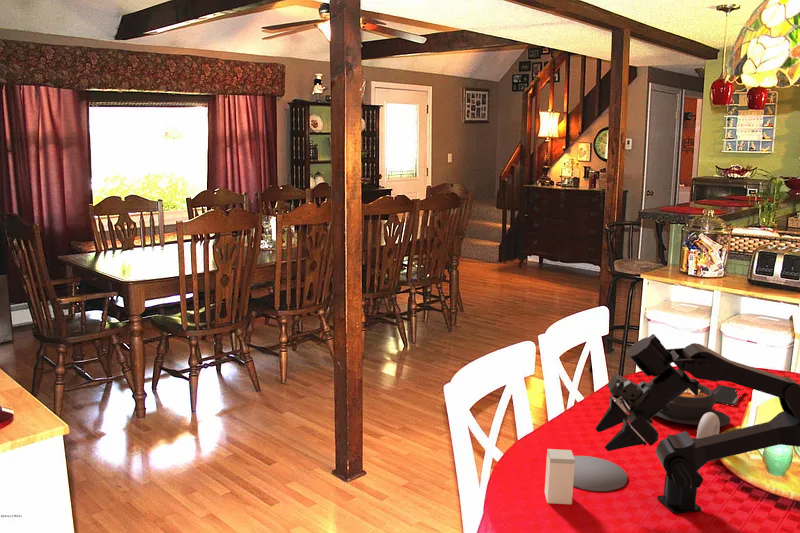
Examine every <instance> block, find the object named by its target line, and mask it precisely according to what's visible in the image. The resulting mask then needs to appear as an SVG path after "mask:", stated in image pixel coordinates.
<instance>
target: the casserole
mask: <svg viewBox="0 0 800 533" xmlns="http://www.w3.org/2000/svg"><path fill="white" fill-rule="evenodd" d="M716 402H717V400H716V398H715V397H714V393H713V390H712V389H711V388H709V387H708V386H706V385H705V384H704V385H703V384H701V383H699V386H698V395H695V394H694V393H693V392H692V391H691V390H690V389H689V388H688V389H687V390H686V391H684V392H683V393H682V394H681V395H680V396H678V397H677V398H676V399H675V400H673V401H672V402H671V403H670V404H668V405H667V407H668V408H669V410H668V411H666V412H665V411H664V410H663V409H662V410H661V411H660V412H658V413H657V414H656V415H655V416H656V417H658V418H661V419H664V420H666V421H669V422H671V423H676V424H681V425H686V426H687V425H688V426H689V425H690V426H691V425H694V426H699V422H700V420H701V418H702V416H703V415H704V414H706V413H708V412H712V413H714V414H716V415H717V416H718V418H719V422H720V428H721V427H725V426H727V425H729V424H730V423H731V421H732V419H731V418H730V416H729V415H727V414H726V413H724V412H722V411H719V410H716V409H714V408H713V407H714V405H715V404H717V403H716Z"/></svg>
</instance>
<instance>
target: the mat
mask: <svg viewBox="0 0 800 533" xmlns="http://www.w3.org/2000/svg"><path fill="white" fill-rule="evenodd" d="M573 456H574V458H575V467H574V480H573V488H576V489H581V490H583V491H591V492H611V491H615V490H619V489H621V488H623V487H624V486H625V485H626V484H627V481H628V474H627V472H626V470H624V469H623V468H622V467H621V466H619V465H618V464H616V463H614V462H612V461H610V460H607V459H604V458H600V457H595V456H589V455H573Z"/></svg>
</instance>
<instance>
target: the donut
mask: <svg viewBox="0 0 800 533" xmlns="http://www.w3.org/2000/svg"><path fill="white" fill-rule="evenodd" d="M720 428H721V427H720V422H719V418H718V416H717V415H716V414H714V413H712V412H708V413H706V414H704V415H703V416H702V418H701V420H700V422H699V425H697V430H696V432H697V433H696V438H704V437H708V436H712V435H716V434H720Z"/></svg>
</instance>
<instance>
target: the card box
mask: <svg viewBox="0 0 800 533" xmlns="http://www.w3.org/2000/svg"><path fill="white" fill-rule="evenodd" d="M546 451H547V452H546V465H545V480H544V482H545V483H544V496H545V500H546V503H547V504H556V505H557V504H558V505H572V504H573V495H574V494H573V490H574V489H573V488H574V486H573V480H574V467H575V458H574V456H575V455H574V453H573V452H572V449H555V448H547V450H546Z"/></svg>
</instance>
